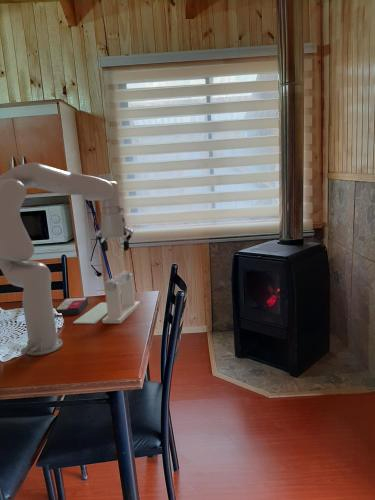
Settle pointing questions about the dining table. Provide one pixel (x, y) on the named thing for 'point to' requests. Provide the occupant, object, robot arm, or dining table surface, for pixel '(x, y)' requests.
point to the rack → (114, 306)
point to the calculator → (72, 306)
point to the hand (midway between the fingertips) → (116, 250)
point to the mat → (93, 314)
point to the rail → (117, 280)
